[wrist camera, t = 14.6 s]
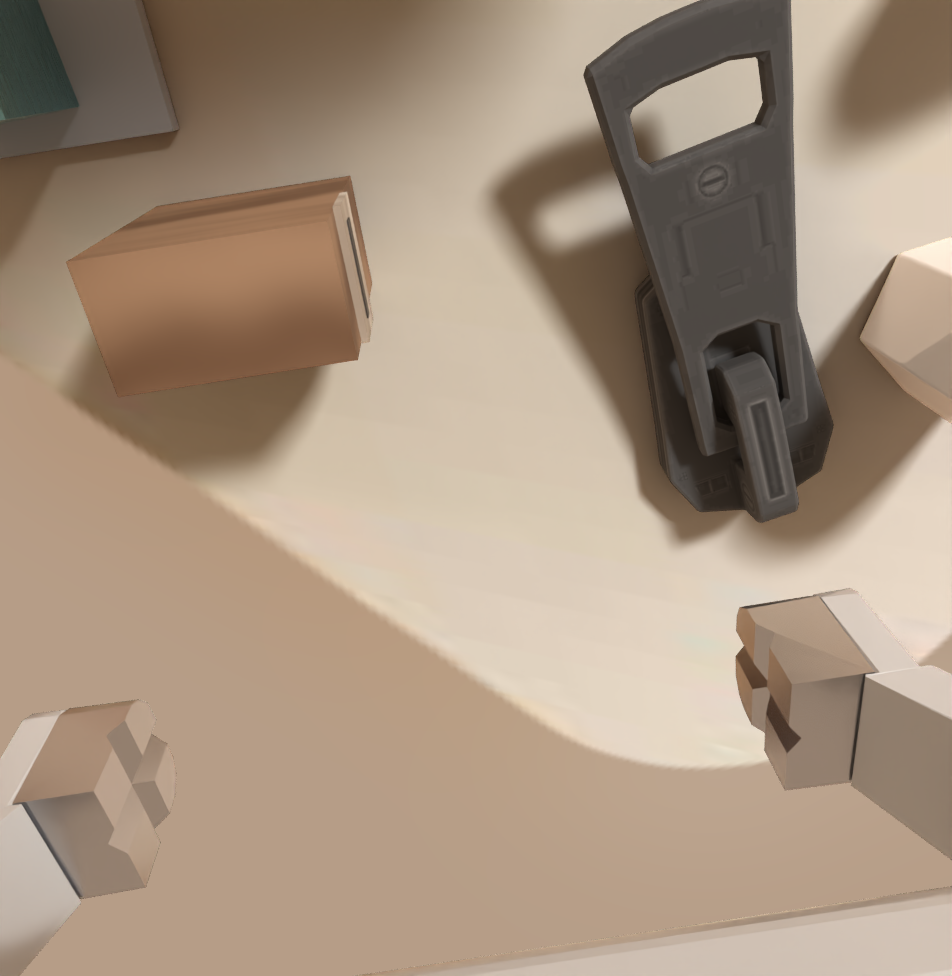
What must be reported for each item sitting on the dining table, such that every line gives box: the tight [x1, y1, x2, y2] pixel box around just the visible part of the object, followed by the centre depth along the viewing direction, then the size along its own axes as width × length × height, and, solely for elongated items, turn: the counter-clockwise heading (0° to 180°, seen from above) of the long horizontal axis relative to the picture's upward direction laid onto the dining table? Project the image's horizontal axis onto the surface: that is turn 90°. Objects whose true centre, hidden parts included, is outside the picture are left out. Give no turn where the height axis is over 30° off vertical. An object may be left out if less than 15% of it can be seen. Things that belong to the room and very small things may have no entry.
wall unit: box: [66, 176, 373, 397], centre depth 33 cm, size 5×10×11 cm, turn 98°
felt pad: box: [0, 0, 179, 158], centre depth 33 cm, size 8×12×1 cm, turn 98°
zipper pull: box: [583, 0, 833, 523], centre depth 38 cm, size 9×7×25 cm
